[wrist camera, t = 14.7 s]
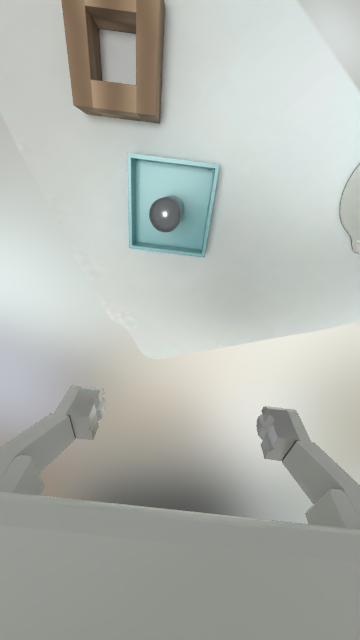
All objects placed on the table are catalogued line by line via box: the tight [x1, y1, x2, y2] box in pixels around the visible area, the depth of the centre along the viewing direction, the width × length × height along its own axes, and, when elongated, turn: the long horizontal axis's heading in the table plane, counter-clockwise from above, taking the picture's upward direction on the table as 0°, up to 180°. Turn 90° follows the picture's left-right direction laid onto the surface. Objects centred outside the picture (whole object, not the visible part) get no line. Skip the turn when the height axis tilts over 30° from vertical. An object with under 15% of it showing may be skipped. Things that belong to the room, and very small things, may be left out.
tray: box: [127, 153, 220, 257], centre depth 35 cm, size 13×13×4 cm
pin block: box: [62, 0, 165, 123], centre depth 26 cm, size 11×11×4 cm
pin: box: [149, 195, 184, 232], centre depth 32 cm, size 4×4×10 cm
